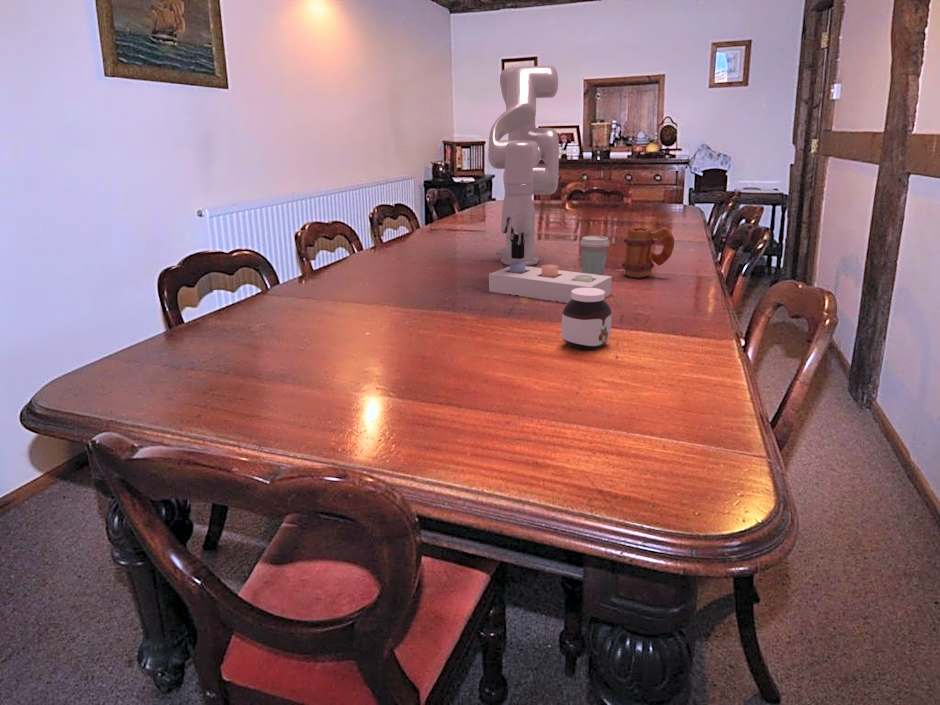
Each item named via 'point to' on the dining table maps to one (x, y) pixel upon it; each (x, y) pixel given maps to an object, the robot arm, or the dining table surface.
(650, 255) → the mug
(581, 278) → the sage button
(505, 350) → the dining table surface
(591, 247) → the coffee cup
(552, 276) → the orange rounded piece
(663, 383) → the dining table surface
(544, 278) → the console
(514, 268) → the slate button
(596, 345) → the spread jar
